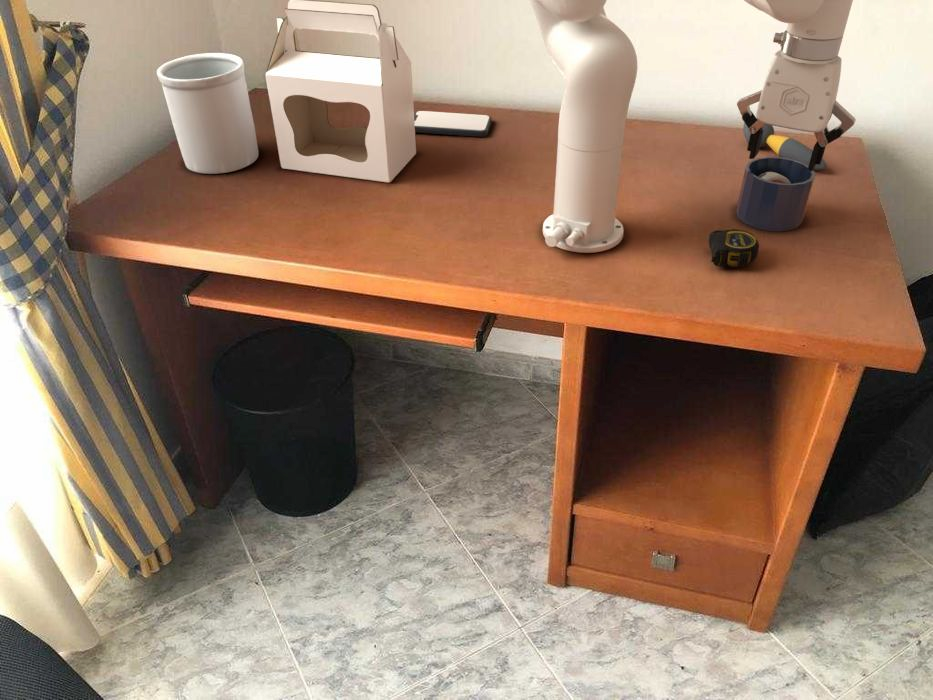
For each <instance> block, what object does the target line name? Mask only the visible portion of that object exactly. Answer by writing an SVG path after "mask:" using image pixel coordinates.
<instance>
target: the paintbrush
mask: <svg viewBox="0 0 933 700" xmlns="http://www.w3.org/2000/svg"><path fill="white" fill-rule="evenodd" d="M762 128H763V135H762V139H761V144H760V148H764V147H767V146H768V147H769V148H770V149H771V150H772V151H773V152H774V153H775V154H776V155H777V156H778V157H782V158H788V159H793V160H796V161H799V162H801V163H804V164H806V165H807V166H809V163H810V159H811V155H812V152H813V149H811V148H810V147H808V146H807V145H805V144H803V143H802V142H800V141H798V140H796V139H794V138H792V137H789V136H784V135H777V134H775V129H774V126H772V125H768V124H765V125H764V126H763V127H762ZM742 132H743V135H744V136H743V137H744V139H745V141H746V142H747V143H749V139H750V134H751V133H750V132H749V128H748V127H747V125H746V124H745V122H743V127H742ZM827 169H828V165H827V162H826V161H825V160H824V158H822V161H821V164H820V165H818V164H816V166H815V167H814V169H813V171H825V170H827Z"/></svg>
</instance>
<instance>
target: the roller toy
mask: <svg viewBox="0 0 933 700" xmlns="http://www.w3.org/2000/svg"><path fill="white" fill-rule="evenodd" d="M758 177H759V178H762V179H764V180H767V181H771V182H776V183H785V184H791V182H790V181H789V180H788V179H787V178H786V177H784V176H782V175H780V174H778V173H775V172H766V173H763V174H761V175H759V176H758Z"/></svg>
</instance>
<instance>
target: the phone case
mask: <svg viewBox="0 0 933 700" xmlns="http://www.w3.org/2000/svg"><path fill="white" fill-rule="evenodd" d="M492 118H493V117H492V116H491V115H488V114H477V113H476V114H475V113H461V112H445V111H431V110H417V111H414V123H415V133H416V134H417V133H419V134H432V135H447V136H459V137H461V136H462V137H475V138H484V137H487V136H488V135H489V134H488V133H489V132H490V128H491V125H492V120H493V119H492Z"/></svg>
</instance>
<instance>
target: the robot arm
mask: <svg viewBox="0 0 933 700" xmlns="http://www.w3.org/2000/svg"><path fill="white" fill-rule="evenodd" d="M743 1H744V2H745V3H747V4H748V5H750V6H751V7H754V8H755V9H757V10H759V11H761V12H762V13H765V14H766V15H768V16H769V17H771V18H773V19H775V20H776V21H778V22H781V23H784V24H787V27H786V30H785V31H784V32H782V31H781V32H775V33H774V36H773V39H772V43H776V44H778V45H780V49H778V50H777V51H776V52H775V53H774V55H773V58H772V59H771V62H770V64H769V67H768V70H767V73H766V76H765V79H764V82H763V86H762V89H761V90H759V91H756V92H754V93H752V94H749V95H746V96H744V97H742V98H739V100H738V101H737V102H736V106H737V109H738V111H739V114H740V115H741V119H742V121H743V123H745V124H746V125H747V127H748V128H749V132H750V133H751V134H750V139H749V143H748V142H747V143H748V144H747V149H746V151H748V152H749V156H748V159H749V160H754V159H756V158H757V156H758V154H759V152H760V148H761V147H760V144H761V139H762V135H763V128H762V127H763V126H764V125H765V124H768V125H772V126H773V127H778V128H785V129H789V130H794V131H799V132H800V131H801V132H806V133H813V134H814V137H815V138H816V142H815V144H814V146H813V149H812V150H813V152H812V155H811V159H810V163H809V166H808V170H809V171H814V170H813V169H814V167H815V166H816V164H818V165H820V164H821V161H822V159H824V154H825V151H826V147H827V146H828V145H829V144H830V143H833V142H834V141H836V140H837V139H839V138H841V137H842V135H844V134H845V133H846V132H847V131H849V129H851V128H852V127H854V125H855V123H856V121H857V119H856V118H855V116H853V115H852V114H851V113H850V112H849V111H848V110H847V109H846V108H844V106H842V104H840V103H839V102H838V101H837V96H838V92H839V87H840V86H839V85H840V80H841V72H842V57H840V56H839V53H840V49H841V46H842V42H843V38H844V35H845V30H846V28H847V23H848V20H849V16H850V13H851V9H852V5H853V3H854V2H853V1H854V0H743ZM606 2H607V0H530V4H531V7H532V10H533V12H534V16H535V18H536V20H537V24H538V27H539V30H540V33H541V36H542V39H543V42H544V45H545V47H546V50H547V53H548V55H549V57H550V59H551V62H552V63H553V64H554V65H555V67H556V68H557V70H558V71H559V72H560V74H561V75H562V76H563V78H564V84H565V85H564V93H563V97H562V101H561V105H560V111H559V116H558V118H559V120H558V127H557V147H556V150H557V151H556V165H555V182H554V197H553V198H554V199H553V212H552V214H551V215H549V216H547V218H546V219H545V220H544V221H543V223H542V235H543V237H544V242H545V244H546V245H547V247H550V248H554V247H556V248H559V249H561V250H563V251H568V252H572V253H578V254H592V253H593V254H594V253H599V252H600V253H601V252H604V251H607V250H610V249H612V248H613V249H614V248H615V247H616V246H617V245H619V244H620V243H621V242H622V240H623V238H624V231H625V229H624V225H623V224H622V222H621V221H620V220H619V219H618V218H616V213H617V204H618V195H619V186H620V178H621V171H622V170H621V169H622V160H623V159H622V158H623V153H624V141H625V132H626V126H627V118H628V112H629V107H630V102H631V98H632V96H633V91H634V88H635V84H636V80H637V75H638V57H637V52H636V49H635V47H634V45H633V42H632V41H631V39H630V37H628V35H627V34H626V33H625V32H624V31H623V30H622V29H621V28H620V27H619V26H618V25H617V24H615V22H613V21H611V20H610V19H609V18H608V16H607V14H606V11H605V7H604V6H605V5H606ZM756 103H758V105H757V108H756V115H755V114H754V113H753V111H752V109H751V107H750V106H752V105H754V104H756ZM832 115H833V116H834V117H835V118H836V119H837V120H839V121H840V124H839V125H838V126H835V128H833V129H832V130H830V129H829V127H828V125H829V122H830V120H831V118H832Z"/></svg>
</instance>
